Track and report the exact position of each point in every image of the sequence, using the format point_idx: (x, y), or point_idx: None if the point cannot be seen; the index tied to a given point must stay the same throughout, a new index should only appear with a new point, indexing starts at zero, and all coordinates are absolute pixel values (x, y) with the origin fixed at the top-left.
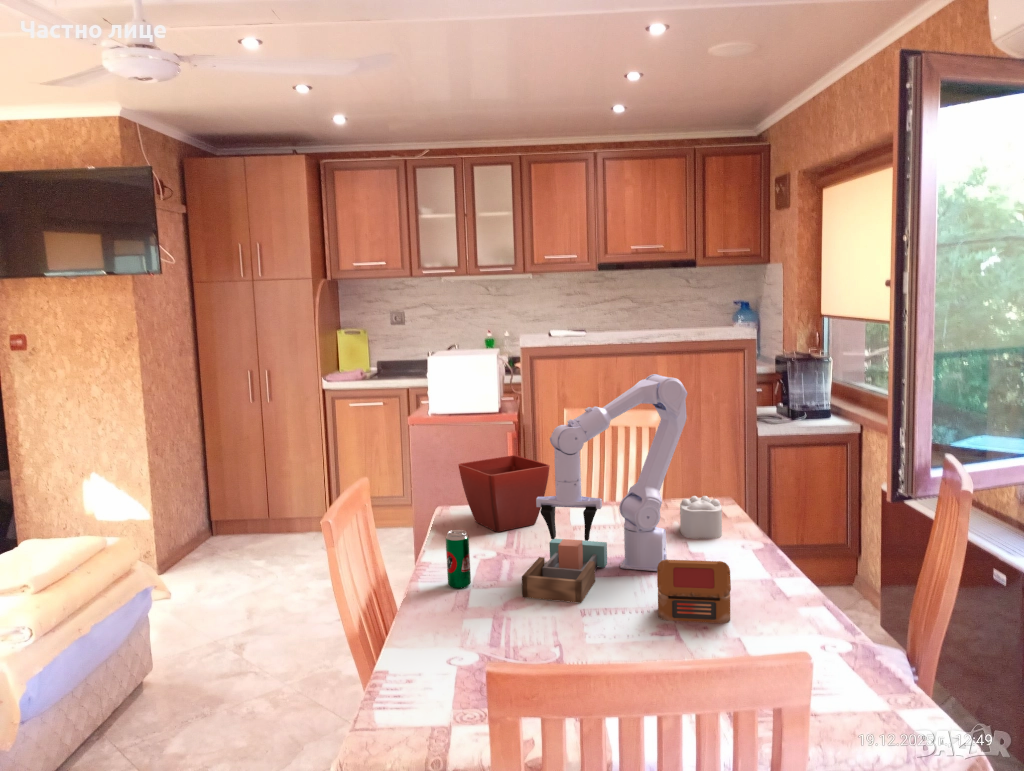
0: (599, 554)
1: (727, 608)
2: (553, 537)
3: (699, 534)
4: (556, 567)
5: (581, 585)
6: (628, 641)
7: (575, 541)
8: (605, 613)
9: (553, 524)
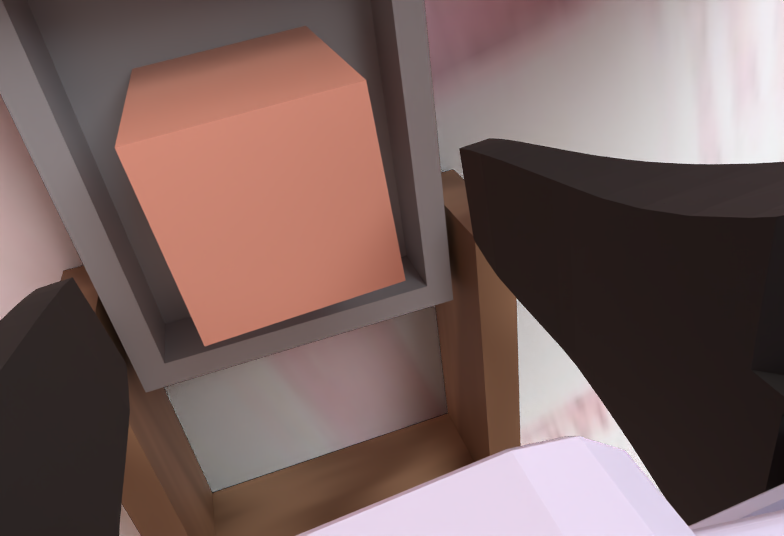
0: None
1: None
2: (124, 384)
3: None
4: (121, 164)
5: None
6: None
7: (312, 160)
8: (586, 433)
9: (68, 464)
